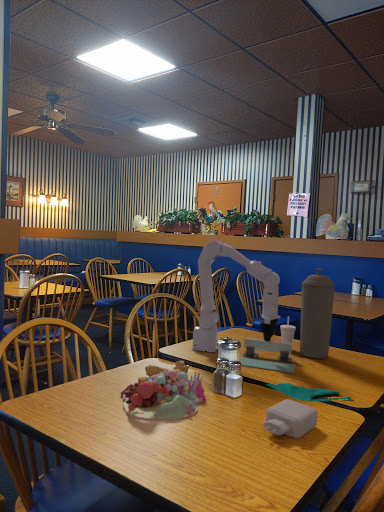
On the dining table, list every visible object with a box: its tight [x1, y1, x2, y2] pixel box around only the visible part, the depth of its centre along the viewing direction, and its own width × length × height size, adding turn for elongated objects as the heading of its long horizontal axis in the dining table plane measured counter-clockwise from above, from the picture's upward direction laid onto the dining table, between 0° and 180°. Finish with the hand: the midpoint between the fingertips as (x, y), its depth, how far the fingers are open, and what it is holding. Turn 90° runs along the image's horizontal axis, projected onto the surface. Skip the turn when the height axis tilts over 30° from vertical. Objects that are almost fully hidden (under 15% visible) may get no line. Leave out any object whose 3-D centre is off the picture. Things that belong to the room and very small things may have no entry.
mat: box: [239, 356, 296, 374], centre depth 147 cm, size 22×9×1 cm, turn 72°
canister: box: [299, 268, 336, 360], centre depth 162 cm, size 13×13×35 cm
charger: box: [262, 398, 319, 439], centre depth 97 cm, size 5×9×15 cm
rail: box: [243, 337, 293, 355], centre depth 156 cm, size 18×3×4 cm, turn 72°
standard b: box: [276, 351, 293, 364], centre depth 155 cm, size 5×6×4 cm
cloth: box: [265, 382, 353, 402], centre depth 122 cm, size 26×14×2 cm, turn 56°
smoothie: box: [279, 315, 297, 344], centre depth 170 cm, size 6×6×14 cm
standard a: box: [242, 347, 259, 359], centre depth 159 cm, size 5×6×4 cm
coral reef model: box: [120, 360, 207, 422], centre depth 112 cm, size 25×24×9 cm
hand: (268, 338), depth 156 cm, fingers open, 7 cm apart
